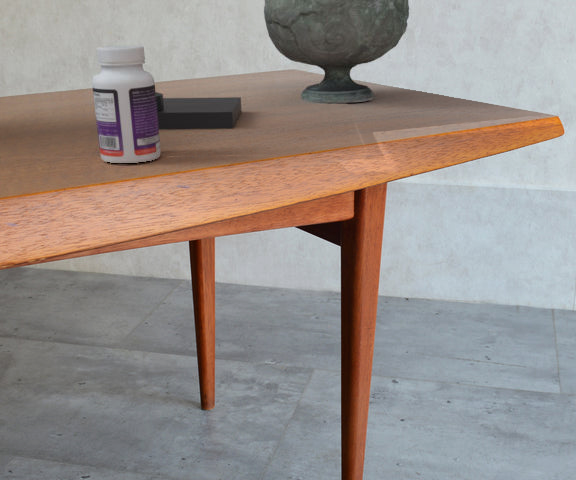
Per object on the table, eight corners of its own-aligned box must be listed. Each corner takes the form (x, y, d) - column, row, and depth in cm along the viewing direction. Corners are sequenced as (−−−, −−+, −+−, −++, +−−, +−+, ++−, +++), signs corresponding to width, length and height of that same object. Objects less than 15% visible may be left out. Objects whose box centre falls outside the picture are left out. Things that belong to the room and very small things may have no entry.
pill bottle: (159, 151, 70) (150, 43, 66) (162, 163, 65) (153, 47, 61) (101, 154, 69) (89, 45, 65) (99, 167, 64) (86, 49, 60)
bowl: (359, 87, 115) (361, -17, 109) (433, 101, 98) (440, -20, 93) (242, 95, 107) (238, -16, 101) (301, 113, 91) (300, -19, 85)
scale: (105, 131, 81) (101, 98, 79) (130, 114, 92) (127, 85, 91) (232, 130, 80) (231, 97, 79) (241, 112, 92) (240, 83, 90)
